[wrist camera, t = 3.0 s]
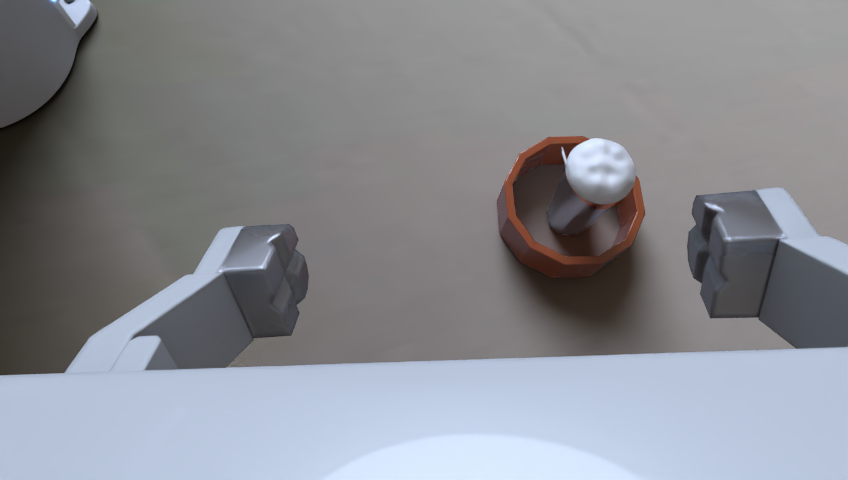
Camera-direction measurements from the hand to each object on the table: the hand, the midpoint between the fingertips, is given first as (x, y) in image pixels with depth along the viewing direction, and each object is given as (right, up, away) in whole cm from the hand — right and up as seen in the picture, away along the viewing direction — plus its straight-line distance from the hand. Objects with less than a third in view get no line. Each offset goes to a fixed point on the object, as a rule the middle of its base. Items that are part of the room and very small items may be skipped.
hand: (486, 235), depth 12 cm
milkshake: (+9, +2, +34) cm, 36 cm away
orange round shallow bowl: (+9, +2, +34) cm, 35 cm away
